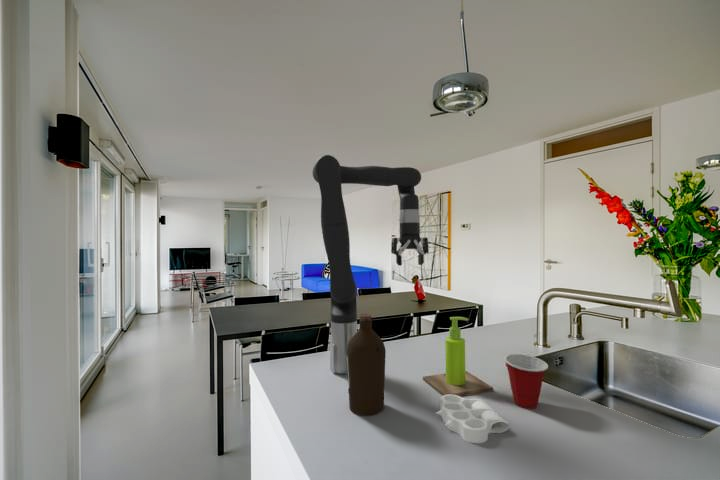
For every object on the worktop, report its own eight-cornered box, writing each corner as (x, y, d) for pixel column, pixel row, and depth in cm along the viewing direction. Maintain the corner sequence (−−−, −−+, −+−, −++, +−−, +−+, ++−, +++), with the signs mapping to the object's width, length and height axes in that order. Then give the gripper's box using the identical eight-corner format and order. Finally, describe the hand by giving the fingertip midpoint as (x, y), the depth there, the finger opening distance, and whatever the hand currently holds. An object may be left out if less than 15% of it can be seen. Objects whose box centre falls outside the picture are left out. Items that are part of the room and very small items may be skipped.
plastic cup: (531, 418, 86) (530, 370, 86) (496, 400, 95) (495, 357, 96) (558, 407, 91) (557, 362, 91) (522, 392, 100) (521, 351, 101)
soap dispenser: (470, 386, 103) (469, 319, 103) (446, 384, 104) (445, 318, 104) (467, 378, 109) (466, 315, 109) (445, 377, 110) (444, 315, 110)
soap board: (445, 398, 97) (445, 394, 97) (422, 379, 111) (422, 376, 111) (493, 390, 102) (493, 387, 102) (465, 373, 115) (465, 370, 115)
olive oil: (391, 401, 96) (389, 312, 96) (379, 420, 86) (377, 320, 86) (356, 396, 99) (354, 310, 100) (340, 413, 90) (339, 317, 90)
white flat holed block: (517, 441, 77) (455, 447, 75) (478, 404, 94) (427, 408, 92) (516, 426, 77) (454, 431, 75) (478, 391, 94) (427, 395, 92)
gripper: (395, 221, 123) (396, 266, 123) (431, 221, 127) (432, 265, 127) (388, 222, 130) (388, 265, 130) (422, 222, 134) (422, 264, 134)
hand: (410, 265), depth 129 cm, fingers open, 8 cm apart
